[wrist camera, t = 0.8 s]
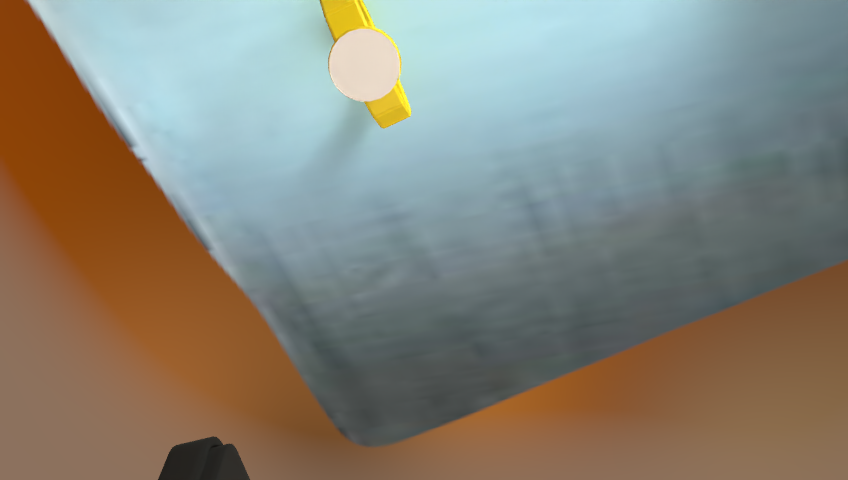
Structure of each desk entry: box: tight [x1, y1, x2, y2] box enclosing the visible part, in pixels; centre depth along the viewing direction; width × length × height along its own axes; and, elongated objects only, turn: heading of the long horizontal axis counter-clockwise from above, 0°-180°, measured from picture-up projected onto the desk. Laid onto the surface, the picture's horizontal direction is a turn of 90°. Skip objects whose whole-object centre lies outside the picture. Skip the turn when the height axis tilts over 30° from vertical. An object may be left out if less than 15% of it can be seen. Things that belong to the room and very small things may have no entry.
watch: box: [320, 0, 411, 128], centre depth 28 cm, size 6×3×6 cm, turn 24°
